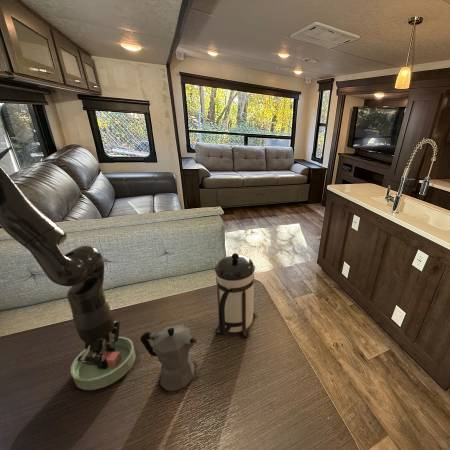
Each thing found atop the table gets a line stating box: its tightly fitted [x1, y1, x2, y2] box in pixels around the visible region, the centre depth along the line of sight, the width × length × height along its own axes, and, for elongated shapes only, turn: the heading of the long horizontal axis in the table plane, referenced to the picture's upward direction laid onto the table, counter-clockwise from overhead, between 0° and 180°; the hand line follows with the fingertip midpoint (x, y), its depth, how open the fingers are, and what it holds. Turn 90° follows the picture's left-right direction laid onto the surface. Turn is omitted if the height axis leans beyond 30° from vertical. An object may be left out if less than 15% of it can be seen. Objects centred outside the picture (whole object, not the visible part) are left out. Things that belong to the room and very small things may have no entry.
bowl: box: [70, 336, 137, 391], centre depth 71 cm, size 14×14×4 cm
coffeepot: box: [140, 324, 198, 392], centre depth 68 cm, size 15×9×18 cm, turn 86°
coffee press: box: [214, 252, 256, 338], centre depth 84 cm, size 17×16×30 cm
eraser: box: [93, 352, 122, 367], centre depth 72 cm, size 6×3×3 cm, turn 93°
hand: (107, 362), depth 72 cm, fingers closed on eraser, 2 cm apart
